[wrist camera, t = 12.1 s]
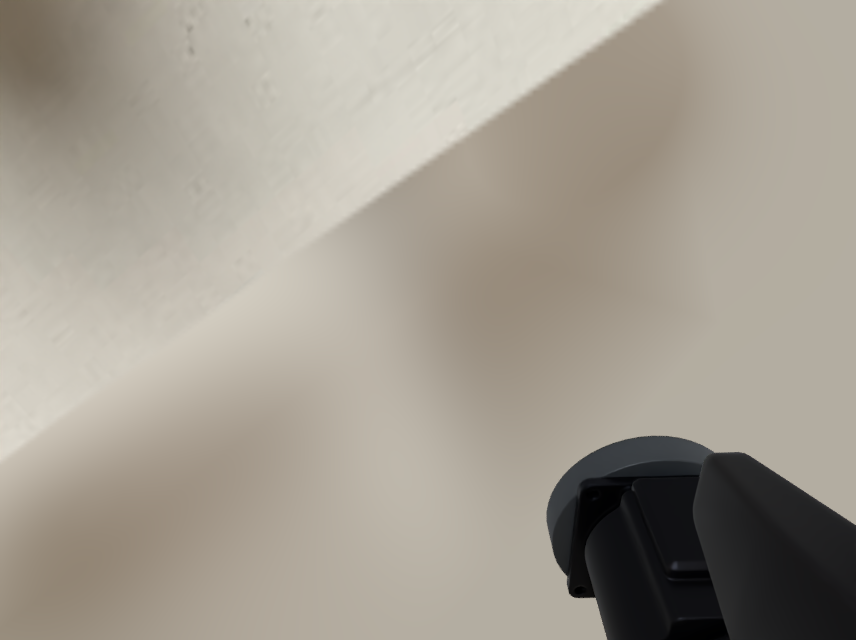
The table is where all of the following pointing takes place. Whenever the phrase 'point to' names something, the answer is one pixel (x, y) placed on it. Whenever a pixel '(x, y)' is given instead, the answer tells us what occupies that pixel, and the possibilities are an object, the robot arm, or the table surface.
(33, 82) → the table surface
